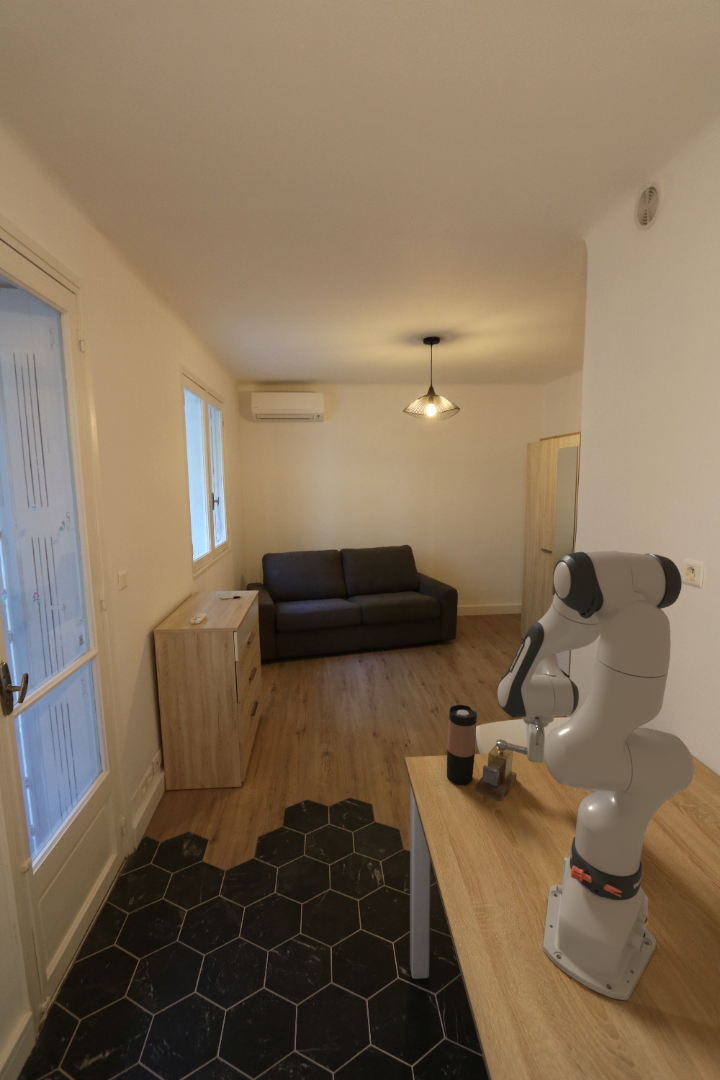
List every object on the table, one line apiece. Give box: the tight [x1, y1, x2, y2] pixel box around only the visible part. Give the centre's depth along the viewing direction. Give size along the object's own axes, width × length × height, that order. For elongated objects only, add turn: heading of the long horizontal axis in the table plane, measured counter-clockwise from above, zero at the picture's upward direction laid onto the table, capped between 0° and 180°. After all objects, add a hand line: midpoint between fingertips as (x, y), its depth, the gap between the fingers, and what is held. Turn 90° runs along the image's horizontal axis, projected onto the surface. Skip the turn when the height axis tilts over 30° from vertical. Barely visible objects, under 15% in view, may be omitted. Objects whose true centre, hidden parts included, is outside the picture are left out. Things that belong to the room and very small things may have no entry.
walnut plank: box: [474, 771, 518, 803], centre depth 132 cm, size 12×7×2 cm, turn 143°
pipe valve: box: [481, 744, 514, 788], centre depth 131 cm, size 11×5×8 cm, turn 143°
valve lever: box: [495, 739, 528, 758], centre depth 130 cm, size 12×3×2 cm, turn 65°
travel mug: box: [446, 704, 478, 787], centre depth 134 cm, size 8×8×20 cm
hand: (532, 759), depth 127 cm, fingers closed
